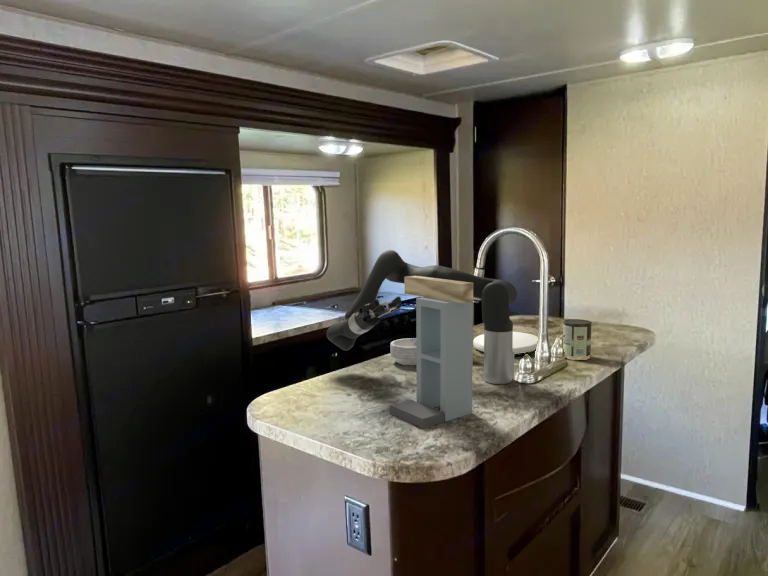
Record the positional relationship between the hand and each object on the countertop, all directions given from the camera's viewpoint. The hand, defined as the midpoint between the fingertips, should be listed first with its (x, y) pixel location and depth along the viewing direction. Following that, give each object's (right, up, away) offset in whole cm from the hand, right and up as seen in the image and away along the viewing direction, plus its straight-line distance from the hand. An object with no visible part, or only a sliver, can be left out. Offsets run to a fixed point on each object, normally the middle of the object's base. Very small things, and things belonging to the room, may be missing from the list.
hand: (389, 300), depth 174 cm
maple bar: (+13, +1, -18) cm, 22 cm away
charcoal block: (+7, -31, -21) cm, 38 cm away
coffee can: (+72, -23, +41) cm, 86 cm away
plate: (+49, -22, +56) cm, 77 cm away
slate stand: (+15, -31, -16) cm, 38 cm away
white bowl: (+8, -24, +36) cm, 45 cm away
